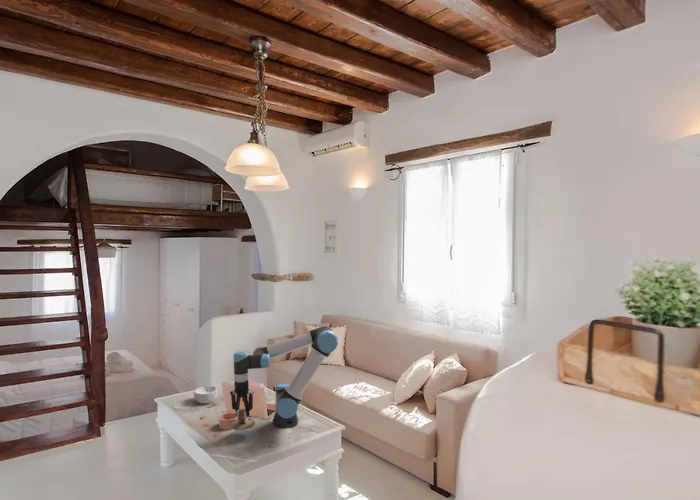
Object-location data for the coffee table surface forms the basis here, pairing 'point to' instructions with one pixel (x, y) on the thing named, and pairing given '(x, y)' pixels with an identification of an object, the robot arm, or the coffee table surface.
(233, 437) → the mat
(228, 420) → the bowl
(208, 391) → the paper bowls
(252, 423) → the lid
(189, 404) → the coffee table surface
